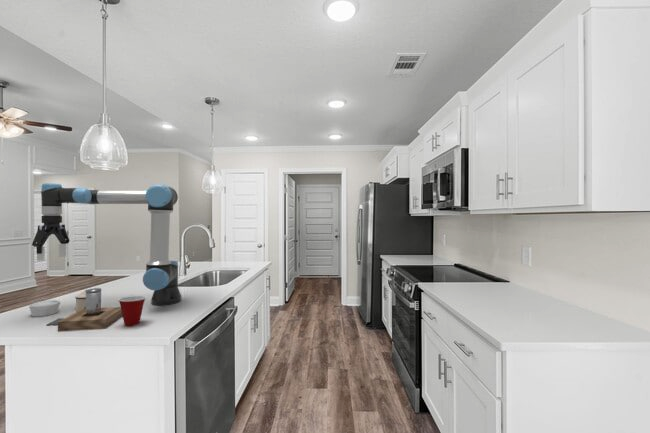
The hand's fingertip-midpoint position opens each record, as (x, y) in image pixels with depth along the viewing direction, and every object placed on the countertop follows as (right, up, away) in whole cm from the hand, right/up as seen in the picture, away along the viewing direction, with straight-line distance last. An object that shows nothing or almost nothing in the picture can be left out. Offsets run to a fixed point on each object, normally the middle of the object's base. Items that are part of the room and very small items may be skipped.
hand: (52, 258), depth 150 cm
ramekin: (-5, -28, +1) cm, 28 cm away
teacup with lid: (+15, -28, +4) cm, 32 cm away
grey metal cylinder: (+28, -28, -10) cm, 41 cm away
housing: (+28, -28, -10) cm, 41 cm away
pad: (+14, -28, -10) cm, 33 cm away
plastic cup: (+47, -28, -12) cm, 56 cm away
